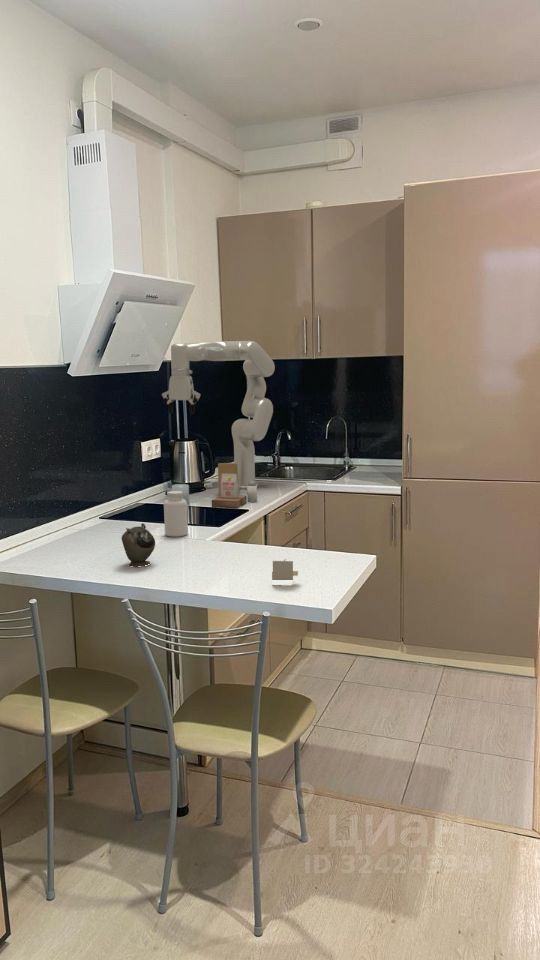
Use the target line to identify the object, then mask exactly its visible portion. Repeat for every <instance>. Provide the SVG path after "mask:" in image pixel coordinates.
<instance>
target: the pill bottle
mask: <svg viewBox="0 0 540 960" xmlns="http://www.w3.org/2000/svg"><path fill="white" fill-rule="evenodd" d="M167 495H168V497H167ZM167 498H168V499H167ZM182 498H183V492H182V491H170V492H168V493H167V492H166V499H165V501H164V503H163V513H164V514H163V516H164V519H163V520H164V521H163V522H164V534H165V536H168V537H173V538H176V537H178V538H179V537H183V536H186V535H188V533H189V525H188V505H187V502H186V501H185V500H184V499H182Z"/></svg>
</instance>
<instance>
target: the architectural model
mask: <svg viewBox="0 0 540 960" xmlns="http://www.w3.org/2000/svg"><path fill="white" fill-rule="evenodd" d="M298 575H299V570H294V561H292V560H286V559H284V560H272V572H271V581H272V580H293V581H294V577H298Z"/></svg>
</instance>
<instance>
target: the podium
mask: <svg viewBox="0 0 540 960" xmlns="http://www.w3.org/2000/svg"><path fill="white" fill-rule="evenodd" d="M238 496H239V497H238V498H236V499H227V498H220V496H219V495H218V496H216V497H214V498H213V499H211V508H222V509H223V508H224V509H236V508H237V509H239V508H240V506H241V507H242V506H244V505H245V504H247V502H248V500H247V495H243V494H242V495H241V494H240V495H238Z"/></svg>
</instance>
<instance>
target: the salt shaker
mask: <svg viewBox="0 0 540 960" xmlns="http://www.w3.org/2000/svg"><path fill="white" fill-rule="evenodd" d="M256 483H257V482H256V480H255V481H249V482H248V484H247V489H246V490H247V493H246V496H247V502H248V503H250V502H251V504H252V503H257V502H258V487H257V484H256Z"/></svg>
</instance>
